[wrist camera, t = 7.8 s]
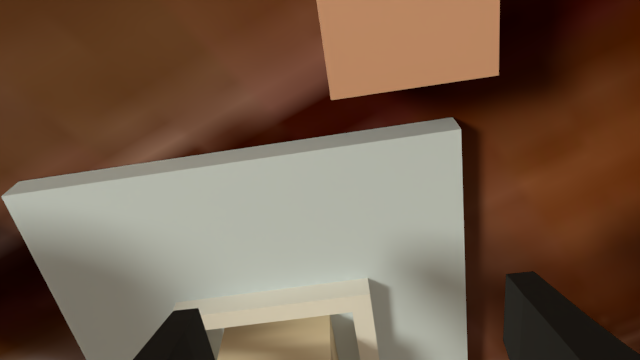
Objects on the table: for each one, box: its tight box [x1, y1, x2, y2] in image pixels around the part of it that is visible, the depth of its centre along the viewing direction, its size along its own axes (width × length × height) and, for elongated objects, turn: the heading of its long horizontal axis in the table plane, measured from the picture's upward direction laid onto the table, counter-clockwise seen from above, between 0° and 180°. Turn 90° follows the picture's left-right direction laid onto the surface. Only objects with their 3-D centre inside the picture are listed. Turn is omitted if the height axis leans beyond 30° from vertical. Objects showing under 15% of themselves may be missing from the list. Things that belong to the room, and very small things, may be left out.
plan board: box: [1, 117, 468, 360], centre depth 22 cm, size 17×18×2 cm
